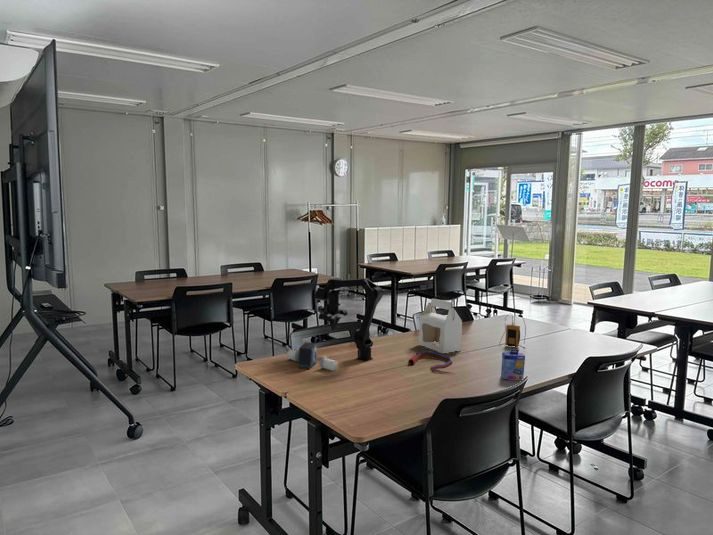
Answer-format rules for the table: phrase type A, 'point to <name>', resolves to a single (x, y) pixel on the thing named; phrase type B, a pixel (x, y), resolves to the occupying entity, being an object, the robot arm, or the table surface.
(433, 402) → the table surface
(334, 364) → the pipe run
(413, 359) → the toy snake
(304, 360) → the small box
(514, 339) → the multimeter
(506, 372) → the ink cartridge box
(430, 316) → the gable box
